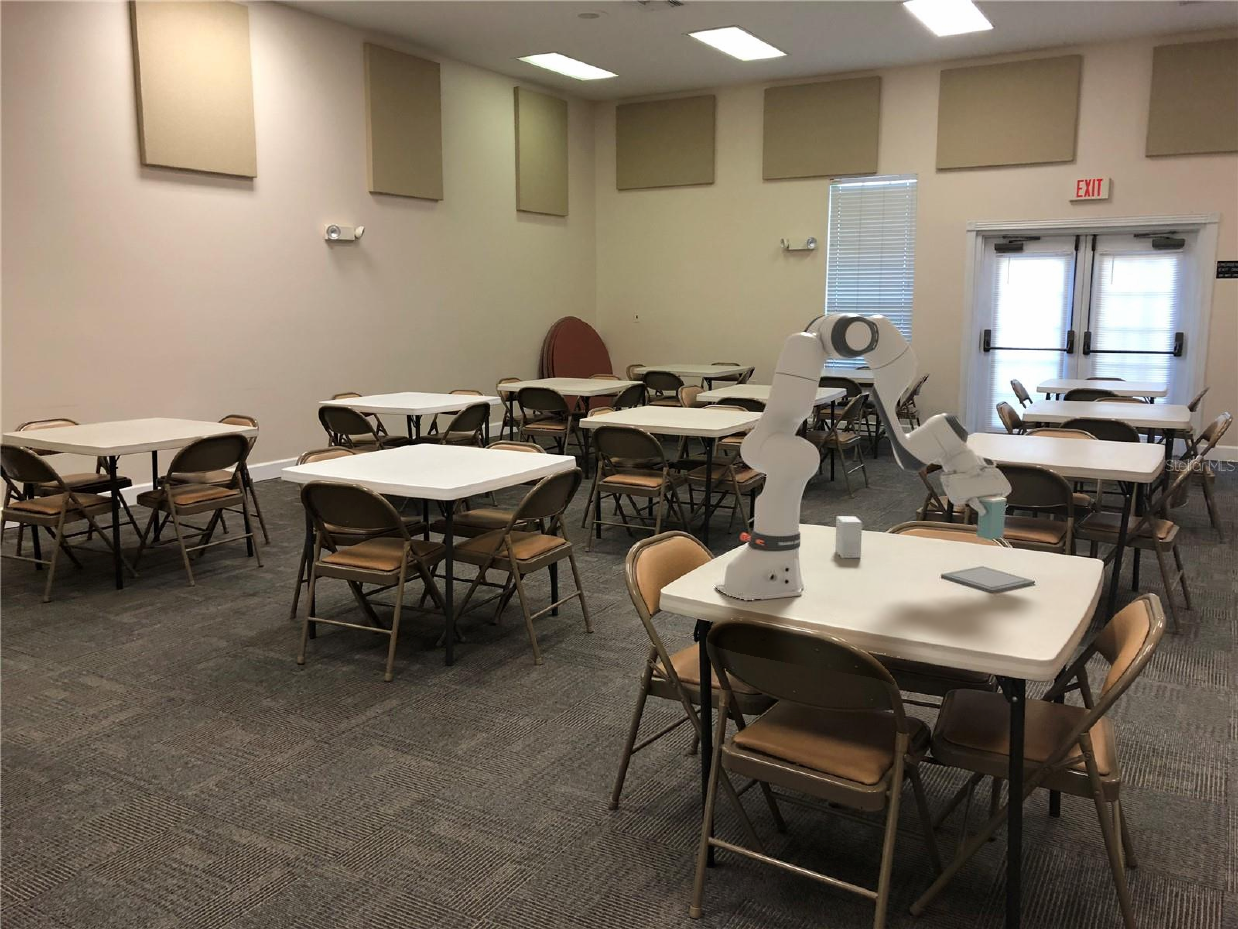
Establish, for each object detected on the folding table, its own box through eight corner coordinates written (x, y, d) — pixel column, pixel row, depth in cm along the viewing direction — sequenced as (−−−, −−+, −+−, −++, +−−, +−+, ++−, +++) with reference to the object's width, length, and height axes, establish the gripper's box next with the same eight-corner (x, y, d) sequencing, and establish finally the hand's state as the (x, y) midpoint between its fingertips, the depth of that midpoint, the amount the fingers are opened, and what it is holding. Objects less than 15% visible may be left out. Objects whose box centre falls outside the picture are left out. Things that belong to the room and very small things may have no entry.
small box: (860, 558, 253) (862, 522, 251) (841, 558, 253) (842, 522, 251) (854, 551, 261) (855, 515, 259) (834, 551, 261) (836, 515, 259)
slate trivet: (992, 593, 221) (993, 589, 220) (940, 577, 234) (941, 573, 234) (1034, 584, 228) (1035, 580, 228) (982, 569, 242) (982, 565, 242)
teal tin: (990, 540, 226) (992, 500, 225) (976, 536, 230) (978, 497, 228) (1003, 537, 229) (1006, 498, 227) (990, 534, 233) (992, 495, 231)
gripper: (944, 465, 227) (974, 510, 221) (998, 459, 237) (1028, 502, 231) (929, 480, 232) (958, 524, 225) (982, 473, 242) (1011, 515, 235)
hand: (994, 513), depth 228 cm, fingers closed on teal tin, 5 cm apart
